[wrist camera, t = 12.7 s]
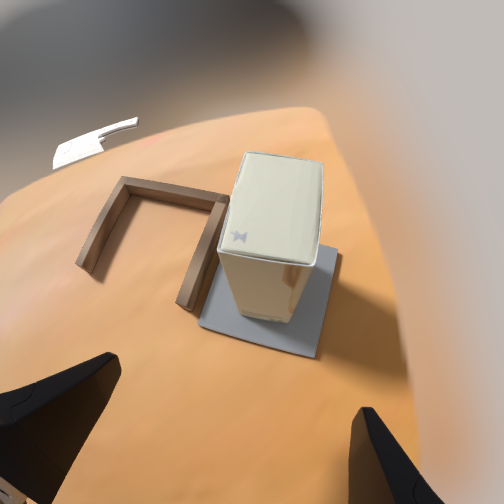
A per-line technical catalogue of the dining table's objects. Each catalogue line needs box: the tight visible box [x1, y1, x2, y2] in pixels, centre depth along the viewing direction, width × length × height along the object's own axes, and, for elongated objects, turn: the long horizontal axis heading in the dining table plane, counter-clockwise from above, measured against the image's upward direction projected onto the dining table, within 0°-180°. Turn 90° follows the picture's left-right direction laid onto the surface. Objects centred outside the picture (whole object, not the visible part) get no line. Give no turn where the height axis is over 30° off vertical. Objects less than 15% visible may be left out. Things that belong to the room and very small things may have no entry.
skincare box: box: [217, 151, 323, 323], centre depth 18 cm, size 6×4×12 cm
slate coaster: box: [197, 244, 338, 358], centre depth 24 cm, size 10×10×1 cm
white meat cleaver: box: [53, 117, 139, 170], centre depth 34 cm, size 5×15×1 cm, turn 98°
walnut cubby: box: [75, 176, 230, 311], centre depth 26 cm, size 11×13×2 cm
